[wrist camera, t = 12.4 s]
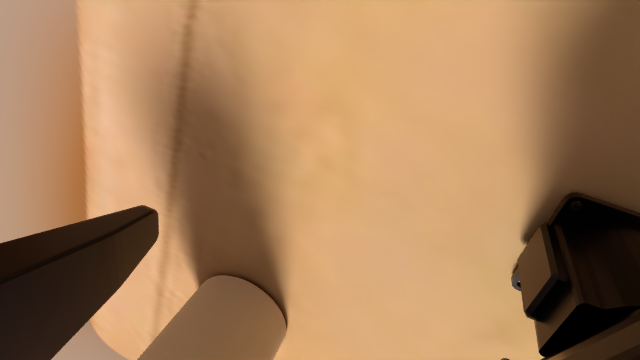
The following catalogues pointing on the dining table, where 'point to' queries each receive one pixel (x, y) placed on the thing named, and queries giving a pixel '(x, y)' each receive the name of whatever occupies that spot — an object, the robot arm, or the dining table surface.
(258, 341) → the travel mug
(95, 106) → the dining table surface
